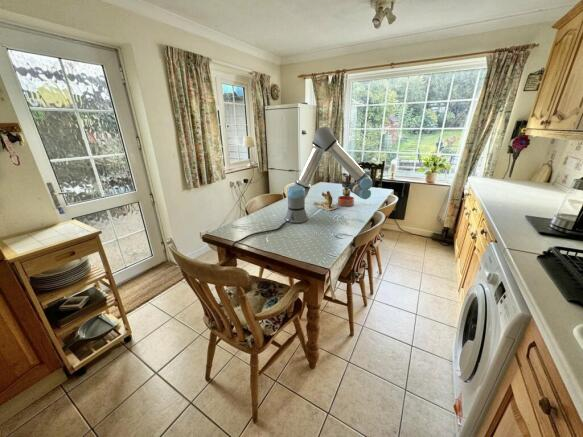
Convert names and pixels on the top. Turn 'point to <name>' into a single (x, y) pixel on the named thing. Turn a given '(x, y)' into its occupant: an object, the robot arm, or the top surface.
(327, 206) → the wooden toy
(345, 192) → the dish brush
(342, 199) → the bowl
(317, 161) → the robot arm
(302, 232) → the top surface
